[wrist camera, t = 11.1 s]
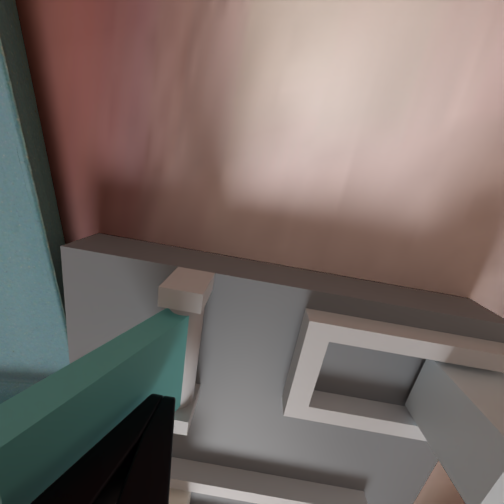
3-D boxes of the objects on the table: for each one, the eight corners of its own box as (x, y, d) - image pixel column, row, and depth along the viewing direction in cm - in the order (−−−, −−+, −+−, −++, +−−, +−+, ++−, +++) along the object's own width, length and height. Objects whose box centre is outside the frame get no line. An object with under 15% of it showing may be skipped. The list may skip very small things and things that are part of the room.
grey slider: (494, 365, 11) (620, 469, 7) (465, 415, 12) (563, 531, 8) (428, 354, 11) (517, 451, 7) (404, 404, 12) (472, 515, 8)
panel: (469, 298, 13) (573, 359, 8) (365, 508, 18) (396, 611, 14) (93, 232, 13) (5, 259, 8) (101, 461, 18) (50, 549, 14)
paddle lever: (211, 300, 10) (-5, 452, 4) (199, 391, 12) (28, 599, 6) (184, 289, 11) (-44, 412, 5) (176, 378, 12) (-3, 557, 6)
